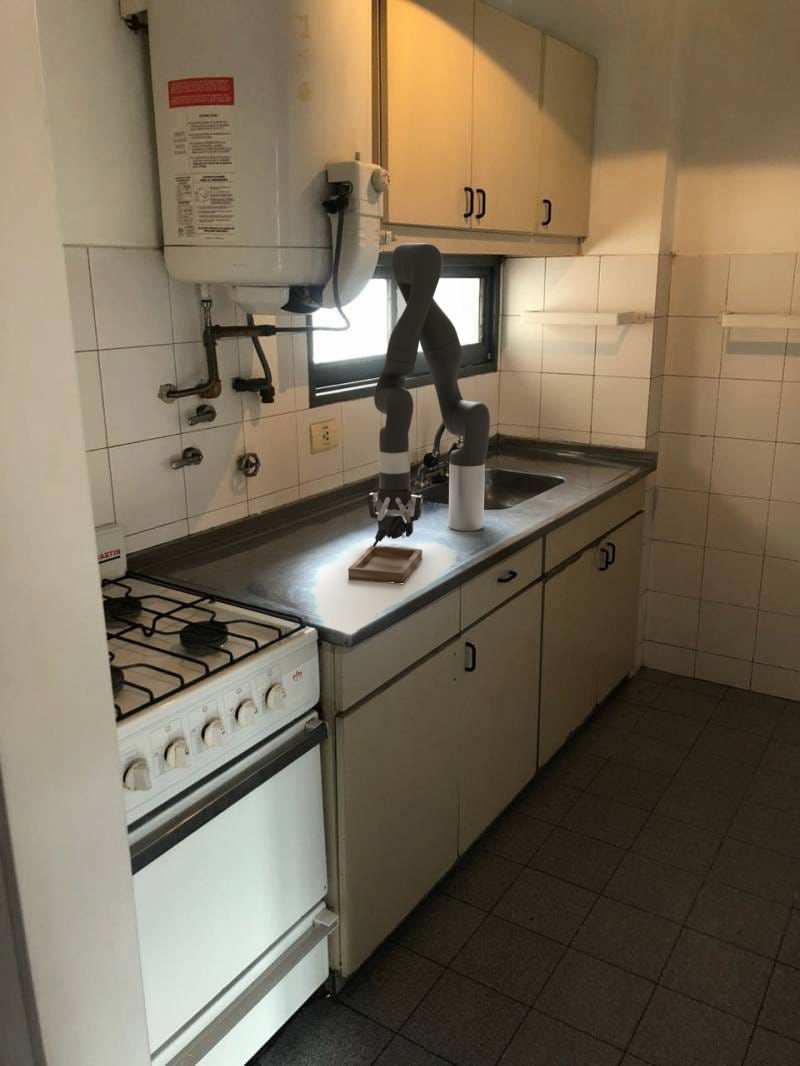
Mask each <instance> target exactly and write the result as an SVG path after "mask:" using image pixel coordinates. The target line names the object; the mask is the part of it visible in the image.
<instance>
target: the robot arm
mask: <svg viewBox="0 0 800 1066" xmlns="http://www.w3.org/2000/svg"><path fill="white" fill-rule="evenodd" d="M443 264H444V263H443V256H442V253H441V251H440V250H439V248H438V247H437V246H436V245H435V244H431V243H424V242H423V243H422V242H420V243H419V242H404V243H400V244H398V245H397V246H396V247H394V249H393V251H392V254H391V258H390V269H391V271H392V275H393V278H394V280H395V282H396V285H397V287H398V289H399V291H400V293H401V296H402V298H403V300H404V301H405V304H406V305H405V308H404V310H403V311H402V314H401V316H400V317H399V318H398V320H397V322H396V324H395V325H394V327H393V329H392V331H391V334H390V337H389V340H388V345H387V348H386V349H387V350H386V354H385V362H384V366H383V368H382V371H381V372H380V375H379V379H378V381H377V383H376V386H375V388H374V389H375V390H374V393H373V394H374V395H373V399H374V400H373V403H374V406H375V408H376V410H378V412H380V413H381V414H384V415H386V419H385V425H384V426H382V427H381V428H380V430H379V437H378V438H379V439H378V440H379V441H378V444H379V456H378V465H377V466H378V476H379V477H378V481H379V482H378V483H379V484H378V486H379V490H378V491H377V492H370V493H368V495H367V496H366V498H367V505H368V510H369V516H370V518H371V519H375V520H377V530H378V529H379V527H380V523H381V522H382V520H383V519H384V517H385V515H387V512H388V511H391V510H392V511H393V510H395V511H400V512H401V514H402V515H403V518H404V520H405V521H406V522H405V523H406V532H405V538H409V537H411V535H412V534H413V532H414V522H416V521H418V520H419V519H420V518H421V517H422V515H421V514H422V507H423V503H424V502H423V501H424V495H422V494H418V495H417V494H412V491H411V459H410V457H411V456H410V452H409V451H410V450H409V449H410V448H409V447H410V446H409V445H410V443H409V441H410V440H409V431H410V428H411V424H412V419H413V413H414V400H413V397H412V394H411V392H410V391H409V390H408V389H406V388H405V387H404V384H405V381H406V380H407V378H409V377H411V376H412V375H413V373H414V371H415V367H416V362H417V355H418V351H419V345H420V347H421V350H422V352H423V357H424V359H425V361H426V364H427V366H428V369H429V373H430V376H431V379H432V383H433V385H434V390H435V392H436V396H437V400H438V405H439V410H440V414H441V418H442V422H443V425H444V427H445V429H446V431H447V432H448V433H449V434H451V435H453V436H457V437H463V444H462V446H461V448H457V449H454V450H452V451H451V452H450V453H449V469H448V470H449V471H448V472H449V473H448V474H449V477H448V478H449V479H448V480H449V481H448V491H449V493H448V528H450V529H452V530H456V531H462V532H463V531H464V532H465V531H466V532H469V531H471V532H472V531H478V530H481V529H483V528H484V516H485V515H484V514H485V476H486V475H485V474H486V473H485V471H486V457H487V454H488V450H489V440H490V429H491V428H490V427H491V425H490V424H491V415H490V411H489V409H488V406H487V405H486V404H485V403H483V402H479V401H472V400H465V399H464V398H463V396H462V394H461V390H460V388H459V382H458V377H459V372H460V369H461V366H462V361H463V348H462V344H461V342H460V338H459V336H458V332H457V329H456V327H455V326H454V325H455V324H453V322H452V321H451V319H450V318H449V316H448V315H447V314H446V313H445V310H443V309H442V308H441V306H440V305H439V304H438V302H437V301H436V300H435V298H434V295H435V294H436V290H437V286H438V284H439V281H440V278H441V275H442V270H443ZM378 500H380V502H381V503H382V505H381V508H380V510H379V512H378V507H377V501H378ZM411 500H412V503H413V504H414V511H413V513H412V511H411V508H410V505H409V502H410V501H411Z"/></svg>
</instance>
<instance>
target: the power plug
mask: <svg viewBox="0 0 800 1066" xmlns="http://www.w3.org/2000/svg"><path fill="white" fill-rule="evenodd" d="M405 521H406V520H405V518H404V517H403V516H402V515H400V514H396V513H392V514H388V515H387V514H386V515H385V517H384V519H383V520H382V522H381V523H380V527H379V529H378V528H377V531H376V534H375V537H374V539H375V541H374V542H373V544H372V546H377V545H378V543H379V542H382V541H383V539H384V538H386V537H387V538H388V539H390V538H391V539H392V540H393V539H394V540H395V539H398V538H400V537H401V538H402V539H405V538H406V522H405Z"/></svg>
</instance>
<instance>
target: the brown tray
mask: <svg viewBox="0 0 800 1066" xmlns="http://www.w3.org/2000/svg"><path fill="white" fill-rule="evenodd" d="M422 561H423V549H420V548H419V549H418V548H406V547H404V548H403V547H394V546H393V547H392V546H382V545H380V546H379V545H378V546H377V545H376V546H373V545H370V546H369V547H368V548H367V549H366V550H365V551H364V552H363V553H362V554H361V555H360V557H358V558H357V560H355V561H354V562H353V563H352V564H351V565H350V566H349V567H348V568H347V572H348V578H347V579H348V580H351V581H362V582H372V581H373V582H374V583H383V582H394V583H393V584H395V583H404V582H405V583H406V582H407V580H408V579H409V578H410V576H411V575H412V573H414V571H415V570H416V569H417V567H418V566H419V564H420V563H421V562H422ZM407 578H408V579H407ZM406 579H407V580H406ZM405 583H404V584H405Z"/></svg>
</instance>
